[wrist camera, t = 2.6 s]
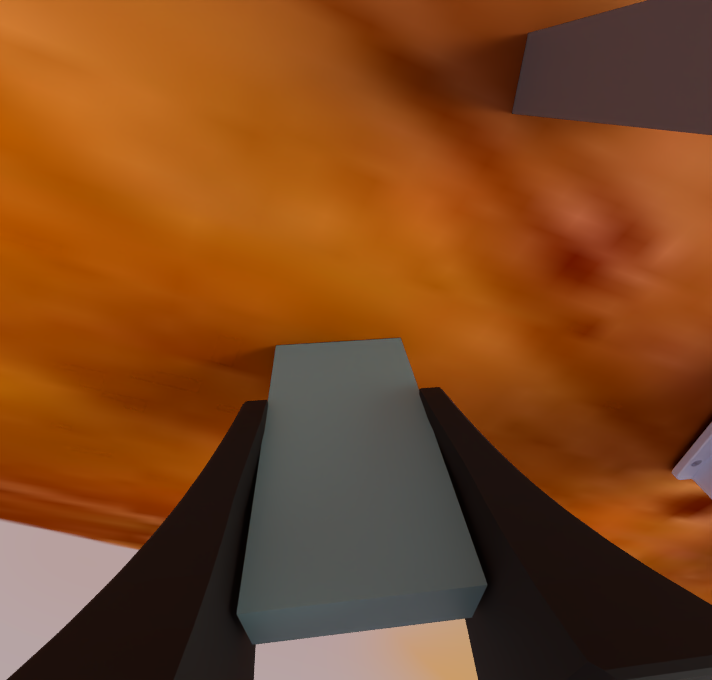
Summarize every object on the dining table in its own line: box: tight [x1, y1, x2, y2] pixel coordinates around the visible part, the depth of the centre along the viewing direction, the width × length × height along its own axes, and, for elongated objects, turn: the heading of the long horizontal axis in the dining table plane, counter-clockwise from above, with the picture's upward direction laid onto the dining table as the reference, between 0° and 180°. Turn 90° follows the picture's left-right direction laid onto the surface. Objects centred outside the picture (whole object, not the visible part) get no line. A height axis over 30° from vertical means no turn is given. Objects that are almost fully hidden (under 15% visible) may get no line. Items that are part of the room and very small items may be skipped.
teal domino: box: [237, 338, 487, 645], centre depth 10 cm, size 2×4×8 cm, turn 90°
